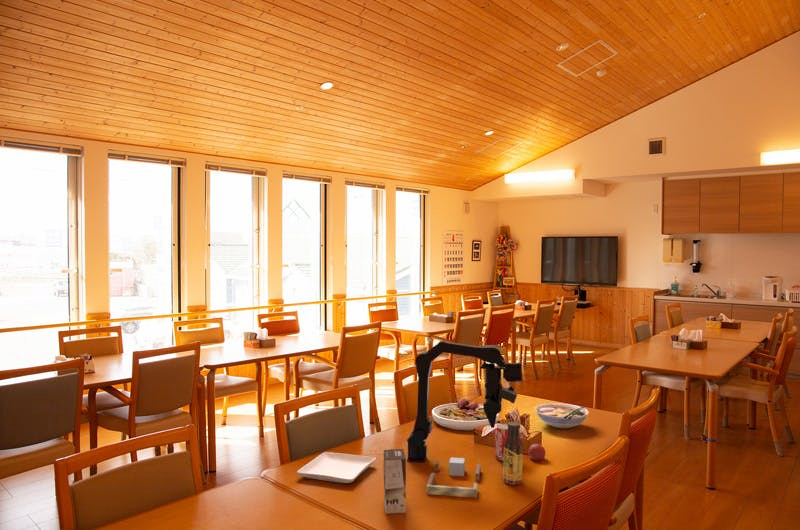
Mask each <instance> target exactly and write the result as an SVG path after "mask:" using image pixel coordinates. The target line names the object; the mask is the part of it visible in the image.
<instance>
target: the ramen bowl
mask: <svg viewBox="0 0 800 530" xmlns="http://www.w3.org/2000/svg"><path fill="white" fill-rule="evenodd" d="M585 407H586V404H584V405H582V406H579V405H574V404H570V403H560V402H559V403H543V404H540V405H539V404H538V405H536V406H535V407H534V410H535V412H536V414H537V415H538V417H539V419H540V420H541V421H542V422H543V423H545V424H547V425H549V426H552V427H553V428H554V429H557V430H558V429H559V430H569V429H570V428H574V427H576V426H579V425H580V424H582V423H583V422H584V421H585V420H586V418H587V416H588V414H589V413H590V412H589V410H588V409H587V408H585Z"/></svg>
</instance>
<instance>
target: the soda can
mask: <svg viewBox="0 0 800 530" xmlns="http://www.w3.org/2000/svg"><path fill="white" fill-rule="evenodd" d="M507 436H508V423H506V424H505V423H504V424H501V423H500V424H497V425H496V428H495V430H494V456H495V458H496V459H498V460H499V461H501V462H503V457H504V445H505V442H506V439H507Z"/></svg>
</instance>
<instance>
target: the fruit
mask: <svg viewBox="0 0 800 530" xmlns="http://www.w3.org/2000/svg"><path fill="white" fill-rule="evenodd" d="M527 450H528V456H529V458H530V459H531V460H532V461H535V462H537V461H538V462H540V461H543V460H544V459H545V457H546V453H547V452H546V449H545V447H544V446H543V445H542V444H540V443H534V444H531V445H530V446H529V448H527Z"/></svg>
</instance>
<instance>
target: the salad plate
mask: <svg viewBox="0 0 800 530" xmlns="http://www.w3.org/2000/svg"><path fill="white" fill-rule="evenodd" d="M376 460H377V457H374V456H366V455H360V454H359V455H358V454H349V453H341V452H340V453H339V452H331V451H330V452H329V451H324V452H322V453H321V454H319V455H317V456H316V457H315V458H314V459H312V460H310V462H308V463H307V464H305V465H304V466H303V467H301V468H299V469H298V470H297V471H296V472H297V474H298V475H300V476H301V477H304V478H307V479H311V480H312V479H313V480H319V481H326V482H334V483H338V484H339V483H340V484H350V483H353V482H354V481H355V480H356V479H357V478H358V477H359V476H360V475H361V474H362V473H363V472H365V471H366V470H367V469H368V468H369V467H370V466H372V465H373V464H374V463H375V462H376Z"/></svg>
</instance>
